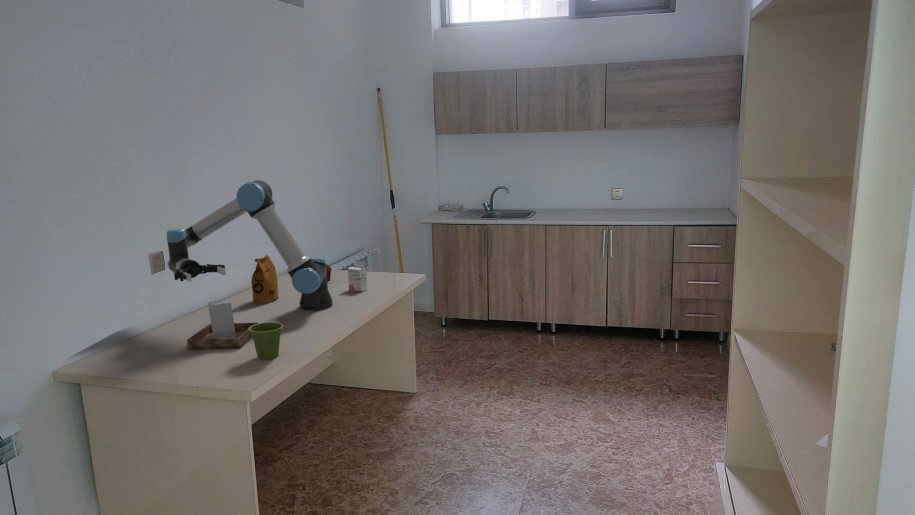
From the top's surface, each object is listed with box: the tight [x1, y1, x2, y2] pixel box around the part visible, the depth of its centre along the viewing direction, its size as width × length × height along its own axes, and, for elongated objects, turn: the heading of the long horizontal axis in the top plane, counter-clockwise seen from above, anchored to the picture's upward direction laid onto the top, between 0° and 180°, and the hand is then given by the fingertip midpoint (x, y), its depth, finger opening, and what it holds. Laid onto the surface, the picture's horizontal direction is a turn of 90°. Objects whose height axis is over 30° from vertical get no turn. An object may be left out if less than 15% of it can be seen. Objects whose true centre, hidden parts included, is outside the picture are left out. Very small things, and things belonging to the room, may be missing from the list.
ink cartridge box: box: [347, 260, 368, 292], centre depth 310 cm, size 9×5×15 cm, turn 58°
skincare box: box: [207, 298, 236, 338], centre depth 237 cm, size 8×6×15 cm
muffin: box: [326, 263, 332, 283], centre depth 332 cm, size 12×11×10 cm
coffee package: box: [251, 254, 279, 305], centre depth 294 cm, size 10×12×22 cm
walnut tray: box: [186, 322, 259, 351], centre depth 238 cm, size 20×20×4 cm
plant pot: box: [248, 321, 284, 361], centre depth 218 cm, size 12×12×11 cm
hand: (207, 274), depth 241 cm, fingers open, 13 cm apart
